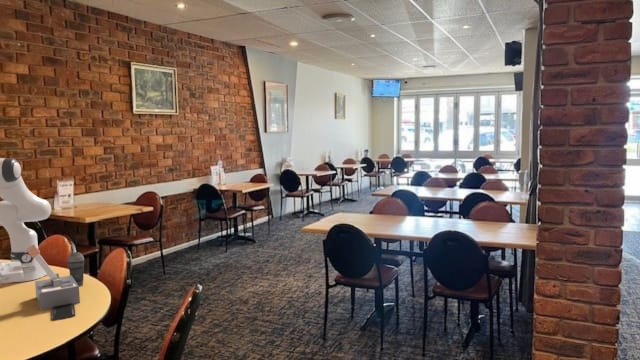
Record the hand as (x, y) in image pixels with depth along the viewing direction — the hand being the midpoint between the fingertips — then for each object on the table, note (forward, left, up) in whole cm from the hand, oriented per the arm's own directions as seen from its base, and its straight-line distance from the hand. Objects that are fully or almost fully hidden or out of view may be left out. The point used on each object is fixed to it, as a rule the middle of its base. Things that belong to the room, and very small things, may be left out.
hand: (35, 268), depth 193 cm
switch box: (0, +7, -15) cm, 17 cm away
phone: (+18, +7, -16) cm, 25 cm away
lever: (0, +7, -7) cm, 10 cm away
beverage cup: (-17, +17, -15) cm, 28 cm away
